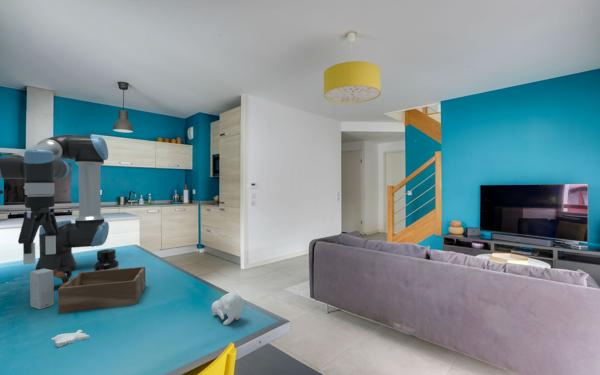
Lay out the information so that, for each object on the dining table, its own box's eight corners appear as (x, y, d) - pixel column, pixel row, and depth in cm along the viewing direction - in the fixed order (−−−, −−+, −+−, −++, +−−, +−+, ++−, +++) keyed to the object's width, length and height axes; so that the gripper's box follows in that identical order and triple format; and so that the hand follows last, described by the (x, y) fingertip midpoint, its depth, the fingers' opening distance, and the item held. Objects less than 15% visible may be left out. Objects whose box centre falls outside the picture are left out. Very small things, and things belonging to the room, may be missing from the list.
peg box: (80, 293, 110) (80, 272, 110) (145, 286, 117) (145, 266, 117) (58, 313, 93) (57, 288, 93) (135, 304, 100) (135, 281, 100)
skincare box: (54, 305, 100) (54, 270, 100) (39, 310, 96) (38, 273, 96) (45, 301, 102) (44, 268, 102) (29, 306, 99) (29, 271, 98)
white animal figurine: (228, 298, 83) (204, 292, 91) (230, 328, 83) (206, 320, 91) (245, 291, 88) (221, 286, 96) (247, 320, 88) (223, 312, 96)
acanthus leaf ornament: (89, 340, 79) (89, 333, 79) (57, 352, 73) (57, 344, 73) (81, 331, 83) (81, 324, 83) (50, 341, 78) (50, 334, 78)
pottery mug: (58, 293, 111) (44, 276, 109) (41, 303, 113) (26, 286, 111) (83, 276, 123) (70, 260, 121) (66, 284, 124) (54, 269, 123)
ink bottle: (103, 282, 122) (103, 254, 121) (88, 280, 125) (87, 252, 124) (124, 275, 131) (123, 249, 131) (109, 273, 134) (109, 247, 134)
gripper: (45, 194, 109) (46, 251, 109) (1, 197, 85) (2, 269, 86) (69, 194, 112) (70, 249, 112) (33, 196, 88) (34, 267, 88)
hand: (40, 258), depth 99 cm, fingers open, 13 cm apart
